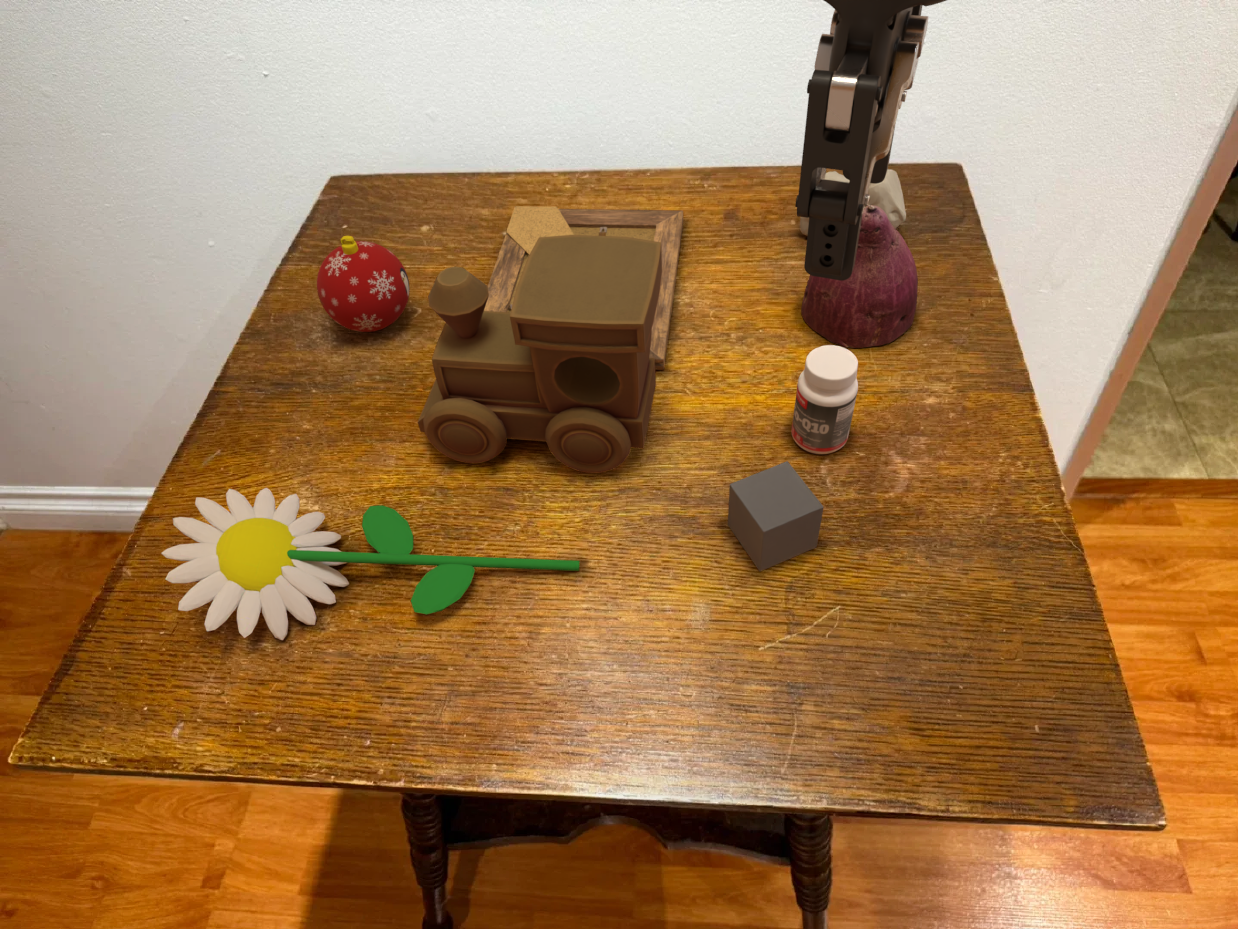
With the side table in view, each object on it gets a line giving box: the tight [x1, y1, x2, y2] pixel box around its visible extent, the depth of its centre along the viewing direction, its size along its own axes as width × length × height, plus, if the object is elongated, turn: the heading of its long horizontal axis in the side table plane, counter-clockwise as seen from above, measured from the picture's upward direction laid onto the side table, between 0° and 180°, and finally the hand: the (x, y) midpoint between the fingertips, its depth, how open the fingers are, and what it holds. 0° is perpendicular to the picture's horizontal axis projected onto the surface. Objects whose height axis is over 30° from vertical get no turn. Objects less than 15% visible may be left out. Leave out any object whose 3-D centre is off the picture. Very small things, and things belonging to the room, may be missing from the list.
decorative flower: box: [160, 487, 580, 641], centre depth 67 cm, size 13×5×30 cm
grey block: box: [727, 460, 825, 572], centre depth 67 cm, size 5×5×5 cm
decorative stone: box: [799, 168, 907, 236], centre depth 92 cm, size 11×9×10 cm
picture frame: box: [484, 205, 684, 371], centre depth 90 cm, size 19×2×24 cm
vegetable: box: [800, 205, 919, 349], centre depth 80 cm, size 10×10×15 cm
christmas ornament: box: [316, 235, 410, 333], centre depth 85 cm, size 9×9×10 cm
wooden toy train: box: [417, 235, 662, 474], centre depth 71 cm, size 20×11×17 cm, turn 81°
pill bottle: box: [791, 344, 859, 455], centre depth 72 cm, size 5×5×8 cm
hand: (846, 223), depth 44 cm, fingers open, 8 cm apart
